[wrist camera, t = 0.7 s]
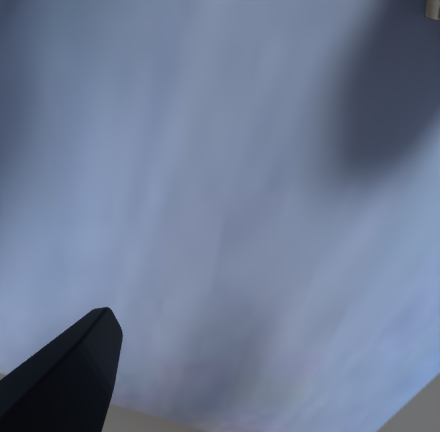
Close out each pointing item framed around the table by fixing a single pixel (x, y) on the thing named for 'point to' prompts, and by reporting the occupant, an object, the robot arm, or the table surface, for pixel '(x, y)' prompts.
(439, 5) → the brown rectangular block
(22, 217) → the table surface
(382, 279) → the table surface
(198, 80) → the table surface
